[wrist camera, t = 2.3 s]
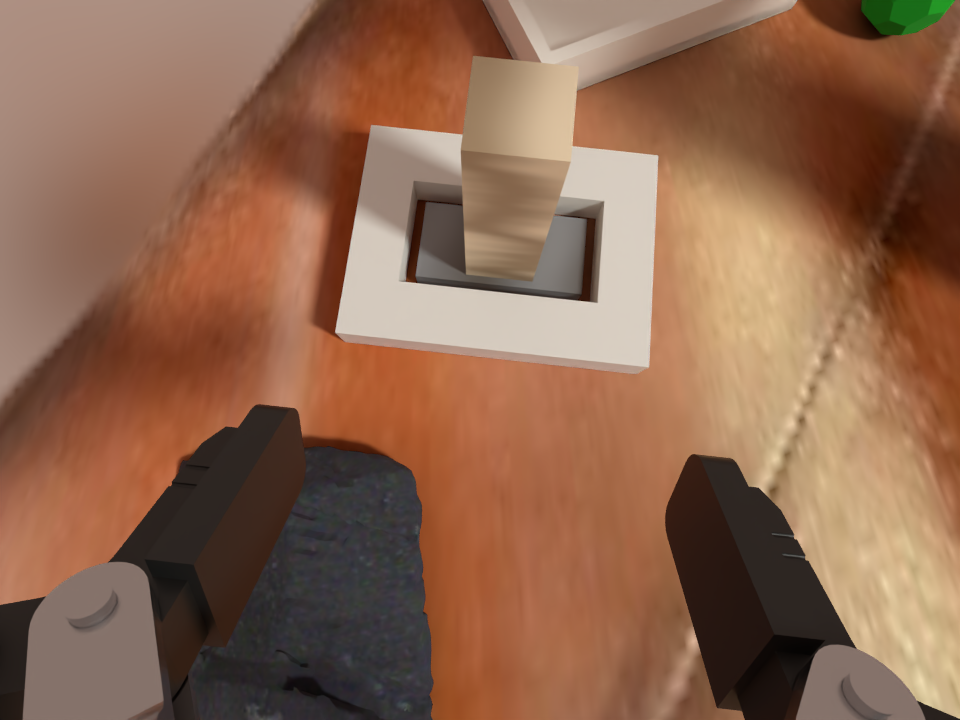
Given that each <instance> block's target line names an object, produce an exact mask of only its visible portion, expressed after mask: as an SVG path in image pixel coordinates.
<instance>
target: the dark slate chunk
mask: <svg viewBox="0 0 960 720" xmlns="http://www.w3.org/2000/svg"><path fill="white" fill-rule="evenodd" d="M304 453H305V460H306V471H305V478H304V482H303V486H302V489H301V491H300V494H299V496H298V498H297V500H296V502H295V504H294V506H293V508H292V510H291V512H290V514H289V517H288V519H287V521H286V523H285V525H284V527H283V529H282V531H281V533H280V535H279V537H278V539H277V541H276V544H275V546H274V548H273V550H272V552H271V554H270V556H269V558H268V560H267V562H266V564H265V566H264V568H263V571H262V573H261V575H260V577H259V579H258V581H257V583H256V585H255V587H254V589H253V591H252V593H251V595H250V598H249V600H248V602H247V604H246V606H245V608H244V610H243V612H242V614H241V616H240V618H239V620H238V623H237V625H236V627H235V629H234V631H233V633H232V635H231V637H230V639H229V641H228V643H227V645H226V647H225V648H222V647H214V646H205V645H202V647H201V649H200V651H199V653H198V655H197V657H196V659H195V661H194V663H193V665H192V667H191V671H192V675H193V681H194V686H195V692H196V698H197V704H198V710H199V715H200V720H432V718H431V710H432V705H433V704H432V701H431V698H430V695H429V694H430V692H431V690H432V687H433V683H434V682H433V679H432V676H431V635H430V629H429V626H428V620H427V614H426V613H424V612H423V609H424V603H425V589H424V580H423V578H422V573H423V562H422V557H421V552H420V547H419V534H420V528H421V523H422V505H421V502H420V500H419V498H418V496H417V491H416V481H415V478H414V476H413V474H412V471H411V470H410V469H408V468H407V467H406V466H404V465H402V464H400V463H398V462H396V461H394V460H393V459H391V458H389V457H387V456H383V455H378V454H365V453H362V452H355V451H344V450H338V449H336V448H333V447H330V446H328V447H311V448H304ZM188 461H189V460H188ZM188 461H184V460H183V461H182V463H181V466H180V469H179V472H180V471H181V470H182V468H183V469H185V467H186V463H187V462H188Z"/></svg>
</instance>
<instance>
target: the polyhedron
mask: <svg viewBox="0 0 960 720" xmlns="http://www.w3.org/2000/svg"><path fill="white" fill-rule="evenodd" d="M954 1H955V0H862V4H861V11H862V12H863V14H864V15H865V16H866V17H867V18H868V20H869V21H870V22H871V23H872V24H873V25H874V27H875V28H876V29H877V30H878V31H879V32H880V33H881V34H883V35H905V34H911V33H916V32H918V31H920V30H922V29H924V28H926V27H928V26H930V25H931V24H933V23H935V22H937V21H939V20H940V18H941V17H942V16H943V15H944V14H945V12H946V11H947V10H948V9H949V7H950V6H951V5H952V4H953V2H954Z"/></svg>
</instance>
